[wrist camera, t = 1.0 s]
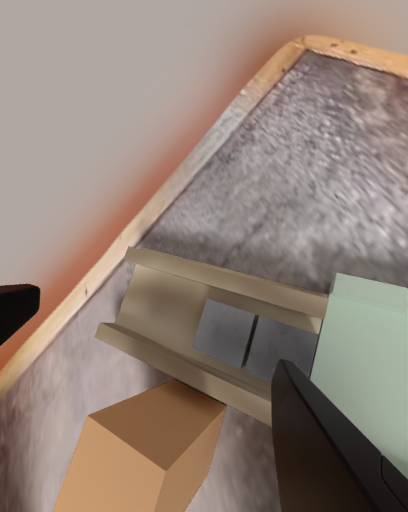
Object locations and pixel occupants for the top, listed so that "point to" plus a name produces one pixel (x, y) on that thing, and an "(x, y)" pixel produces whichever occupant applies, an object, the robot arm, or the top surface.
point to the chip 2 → (280, 348)
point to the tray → (367, 361)
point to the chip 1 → (225, 333)
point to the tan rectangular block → (143, 453)
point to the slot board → (188, 318)
